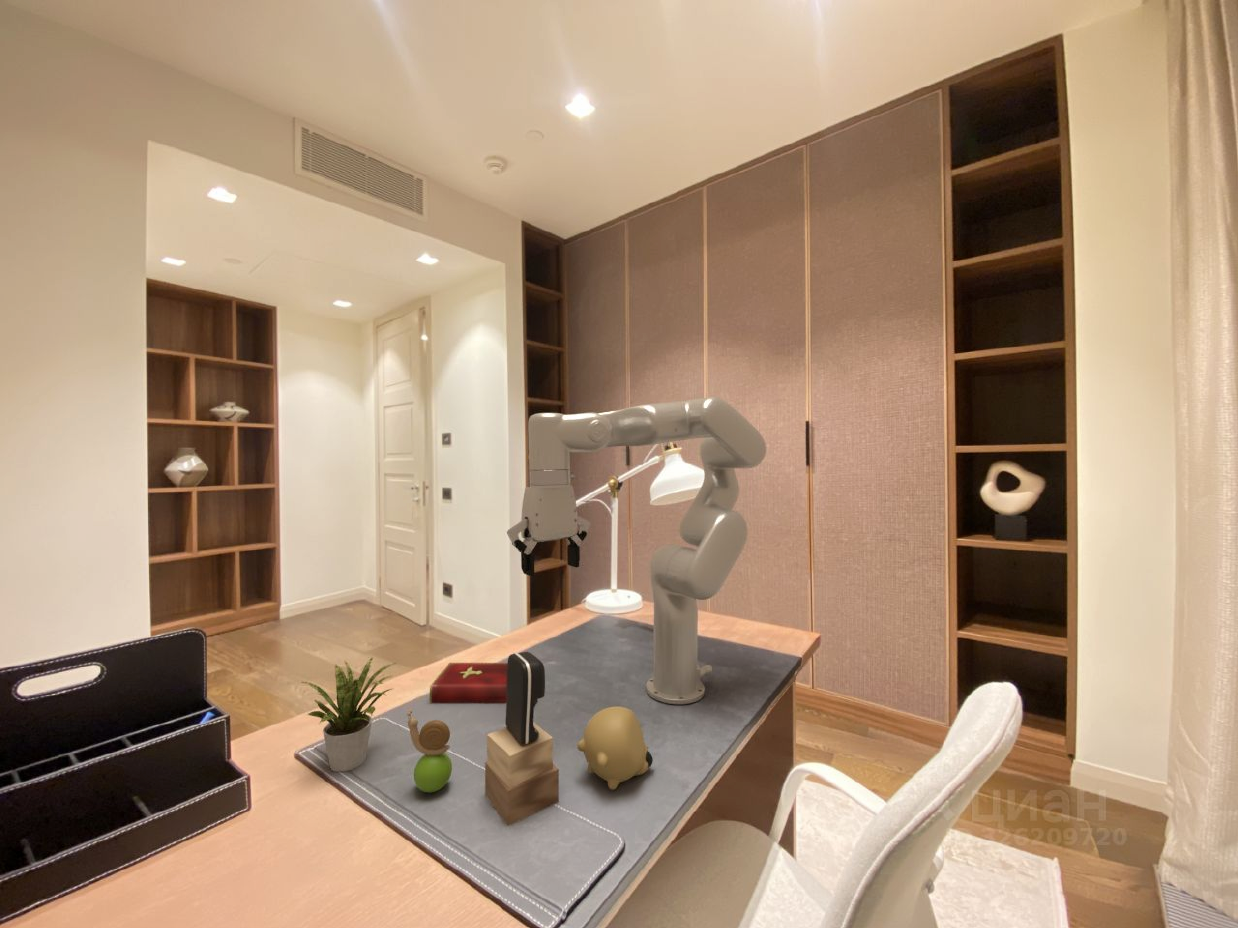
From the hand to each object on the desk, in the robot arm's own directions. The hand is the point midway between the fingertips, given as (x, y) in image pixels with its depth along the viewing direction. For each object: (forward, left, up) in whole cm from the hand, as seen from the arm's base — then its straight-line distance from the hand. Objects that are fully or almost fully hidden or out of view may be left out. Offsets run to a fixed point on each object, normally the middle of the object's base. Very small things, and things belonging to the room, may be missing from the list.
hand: (551, 570), depth 93 cm
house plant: (+31, -9, -30) cm, 44 cm away
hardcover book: (+4, -21, -30) cm, 37 cm away
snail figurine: (+23, +5, -30) cm, 38 cm away
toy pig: (-2, +19, -30) cm, 35 cm away
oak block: (+13, +15, -25) cm, 32 cm away
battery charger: (+12, +15, -20) cm, 28 cm away
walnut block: (+13, +15, -30) cm, 36 cm away
